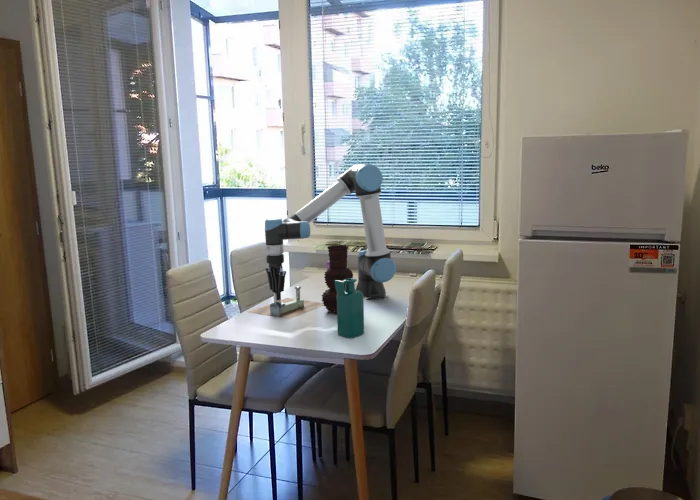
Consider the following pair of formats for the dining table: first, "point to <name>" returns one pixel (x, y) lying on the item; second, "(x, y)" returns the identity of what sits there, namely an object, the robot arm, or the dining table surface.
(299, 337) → the dining table surface
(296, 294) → the peg
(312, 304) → the board
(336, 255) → the vase
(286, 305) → the link
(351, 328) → the green bottle
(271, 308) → the block
